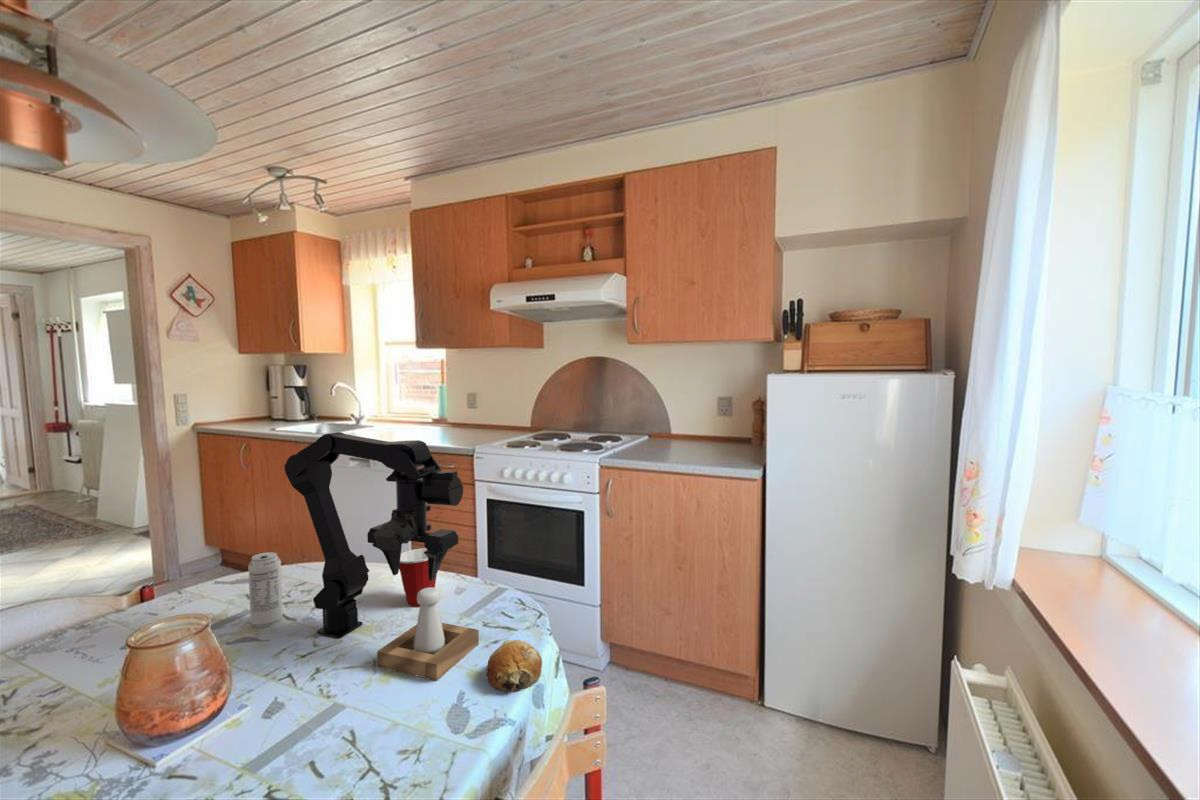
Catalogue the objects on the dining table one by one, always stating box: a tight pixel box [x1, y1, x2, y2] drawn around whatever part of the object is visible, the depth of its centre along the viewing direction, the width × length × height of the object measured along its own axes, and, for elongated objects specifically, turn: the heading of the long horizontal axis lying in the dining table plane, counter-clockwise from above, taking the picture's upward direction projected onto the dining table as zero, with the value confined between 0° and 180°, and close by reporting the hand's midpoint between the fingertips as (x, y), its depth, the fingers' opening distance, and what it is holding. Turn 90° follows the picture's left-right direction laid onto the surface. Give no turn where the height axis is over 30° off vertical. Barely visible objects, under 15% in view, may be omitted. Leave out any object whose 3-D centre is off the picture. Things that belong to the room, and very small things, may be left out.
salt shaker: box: [414, 587, 445, 655], centre depth 101 cm, size 6×6×13 cm
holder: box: [376, 622, 480, 681], centre depth 102 cm, size 13×13×3 cm
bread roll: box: [486, 639, 543, 693], centre depth 95 cm, size 10×10×8 cm
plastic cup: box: [399, 547, 438, 608], centre depth 125 cm, size 11×11×12 cm
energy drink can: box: [247, 551, 284, 629], centre depth 115 cm, size 6×6×15 cm
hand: (413, 577), depth 107 cm, fingers open, 9 cm apart
